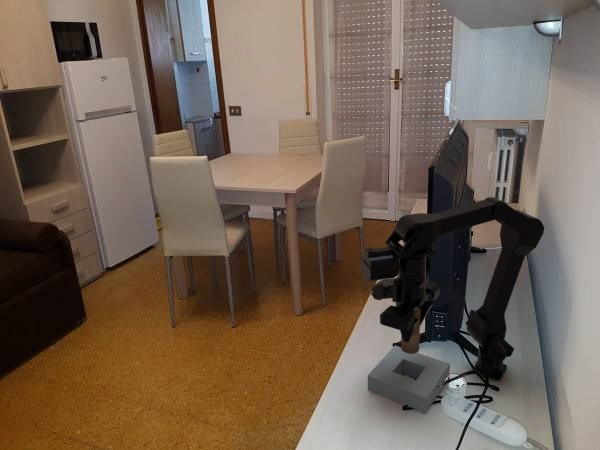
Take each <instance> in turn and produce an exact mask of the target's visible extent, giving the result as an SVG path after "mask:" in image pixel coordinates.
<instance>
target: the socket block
mask: <svg viewBox="0 0 600 450" xmlns="http://www.w3.org/2000/svg"><path fill="white" fill-rule="evenodd" d="M450 366H451V363H450V362H446V361H443V360H440V359H439V358H438V359H437V358H435V357H432V356H429V355H426V354H423V353H419V352H417V353H414V354H408V353H405V352H403V351H402V350H401V346H397V345H394V346H393V347H392V348H390V350H389V351H388V352H387V354H386V355H385V356H384V357H383V358H382V359H381V360H380V361H379V362H378V363H377V365H375V367H373V369H372V370H371V371H370V372H369V373H368V374H367V390H368V391H370V392H372V393H374V394H377V395H380V396H382V397H385V398H387V399H390V400H393V401H394V402H397V403H400V404H402V405H404V406H407V405H408V406H407V407H409V406H410V407H409V408H411V409H415V410H417V411H419V412H422V413H424V414H427V412H428V411H429V409H430V407H431V406H432V405H433V403H434V402H435V400H436V398H437V397H438V395H439V394H440V392H441V391H442V389H443V388H444V386H441V387H437V386H438V385H439V384H440V383H442V382H443V381H445V380H446V378H447V377H448V376H449V377H450V368H451V367H450ZM402 374H405V375H407V376H411V377H413V378H416V380H415V379H412V378H410V377H407V376H404V375H402ZM436 387H437V388H436ZM433 401H434V402H433Z"/></svg>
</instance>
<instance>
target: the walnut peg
mask: <svg viewBox="0 0 600 450" xmlns="http://www.w3.org/2000/svg"><path fill="white" fill-rule="evenodd" d="M414 311H415V314H414V318H417V319H419V321H418V323H417V325H416V327H415V330H414V332H413V334H412V336H411V339H410V341H409V342H408V343H407V342H404V341H403V338H402V335H401V334H400V335H401V337H400V347H401V350H402V351H403V352H405V353H408V354H414V353H419V351H420V338H421V336H420V335H421V333H420V332H421V326H420V308H418V307H417V308H416V309H415V310H414Z"/></svg>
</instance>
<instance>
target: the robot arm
mask: <svg viewBox="0 0 600 450" xmlns="http://www.w3.org/2000/svg"><path fill="white" fill-rule="evenodd" d="M491 221H496V222H497V223H499V224H501V225H500V231H499V238H500V244H501V251H500V253H499V256H498V260H497V263H496V265H495V267H494V271H493V274H492V277H491V279H490V283H489V286H488V289H487V291H486V294H485V297H484V301H483V303H482V305H481V306H480V307H479V308H477V309H476V310H474V309H470V310H469V314H468V318H467V320H466V322H465V325H466V331H467V333H468V335H469V336H470V337H471V338H472V339H473V341H475V342H476V343H477V344H478V350H477V351H478V352H477V361H476V363H475V364H474V366H473V367H472V369H471V371H473V370H477V371H479V372H480V374H482V375H481V376H483V375H484V376H483V377H486V378H489V379H492V380H495V381H498V382H500V381H502V378H503V376H504V374H505V372H507V371H506V370H507V369H508V365H507V364H506V363H504V362H505V360H506V359H507V358H509V357H512V355H513V353H514V351H515V348H514V347H513V346H512V345H511V344H510V343H509V342H508V341H507V340H506V339H505V338H506V333H507V329H508V328H507V324H506V323H507V322H506V315H505V314H506V311H507V308H508V306H509V302H510V299H511V297H512V295H513V291H514V289H515V285H516V283H517V280H518V277H519V275H520V271H521V269H522V266H523V264H524V260H525V258H526V257H527V255H529V254H530V253H531V252H533V251H534V250H535V249H536V248H537V247H538V245H539V243H540V241H541V240H542V237H543V235H544V232H545V226H544V223H543V222H542V221H541V219H539V218H537V217H535V216H533V215H531V214H528V213H526V212H524V211H522V210H519V209H517V210H516V209H515V208H513V207H512V206H511V205H509V204H508V203H507V202H506V201H503V200H502V199H500V198H497V197H495V196H490V197H485V199H482V200H479V201H475V202H473V203H472V202H471V203H468V204H465V205H461V206H458V207H454V208H451V209H448V210H444V211H441V212H436V213H423V212H422V213H419V212H418V213H410V214H409V213H408V214H404V215H403V216H401V217H399V219H398V220H397V223H396V225H395V228H394V229H393V230H392V232H391V234H390V235H389V237H388V238H387V240H386V241H385V242H384V244H385V246H386V247H385V246H384V247H377V248H373V247H371V248H366V249H365V254H363V257H362V260H361V266H362V272H363V276H364V279H365V280H366V282H374V281H377V283H375V284H373V285H372V288H371V297H372V299H374V300H377V301H382V300H389V299H391V302H393V303H395V304H396V303H398V302H400V305H399V306H398V307H395V306H396V305H389V306H388V307H386V308H385V309H384V310H383V311H382V312H381V313H380V314H379V323H380V325H382V326H384V327H389V328H392V329H395V330H398V331H399V333H400V335H402V338H403V341H404V342H407V343H408V342H409V341H410V339H411V336H412V334H413V332H414V330H415V327H416V325H417V323H418V321H419V319H417V318H414V314H415V311H414V310H415V309H416V308H417V307H418V308H420V327H421V326H422V324H423V322H424V320H425V319H426V316H427V315H428V313H429V311H430V310H431V308H432V306H433V305H434V302H432V301H430V300H428V299H429V294H430V295H431V299H432V300H434V301H435V300H437V298H438V297H440V293H441V288H440V287H439V285H438V284H437V283H436V282H430V277H429V276H428V275H427V276H426V256H428V255H429V256H435V255H437V250H435V249H434V248H433V247H432V246H431V245H433V244H435V243H436V242H438V240H439V239H441V237H443V236H445V235H447V234H450V233H454V232H458V231H462V230H465V229H468V228H472V227H475V226H477V225H482V224H485V223H488V222H491ZM401 241H402V243H403V242H404V243H405V245H404V246H403V244H401V243H400V242H401ZM480 374H479V375H480Z"/></svg>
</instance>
